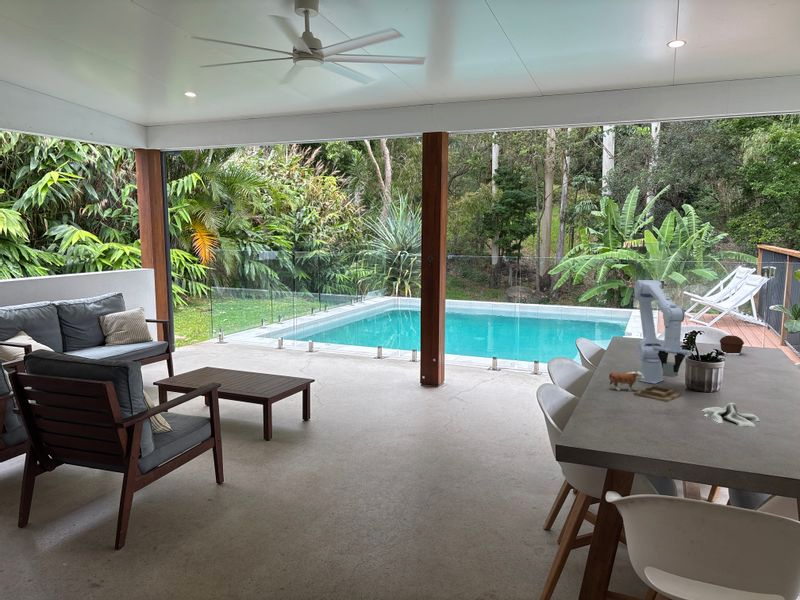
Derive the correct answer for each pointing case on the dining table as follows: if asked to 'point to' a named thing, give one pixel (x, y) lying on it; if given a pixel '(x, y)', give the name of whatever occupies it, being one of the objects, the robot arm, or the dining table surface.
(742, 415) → the cloth
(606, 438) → the dining table surface
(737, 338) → the muffin
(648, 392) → the brown square tray
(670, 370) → the grey wood-grain block
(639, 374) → the bull figurine
